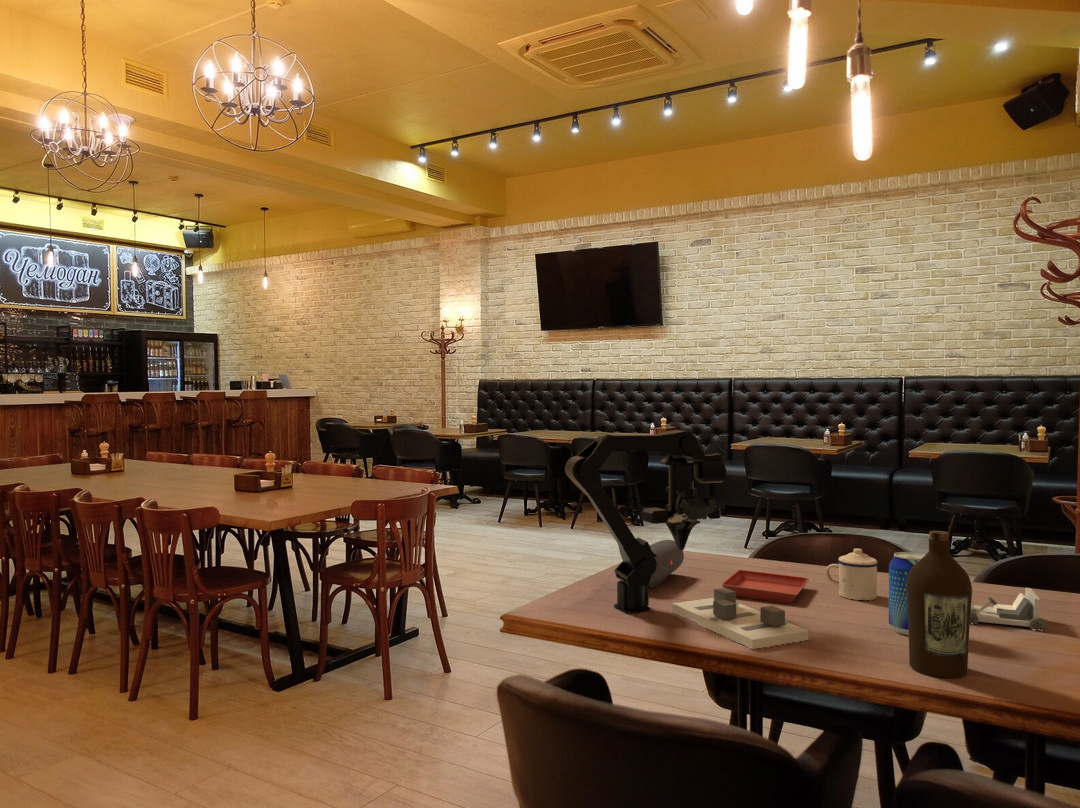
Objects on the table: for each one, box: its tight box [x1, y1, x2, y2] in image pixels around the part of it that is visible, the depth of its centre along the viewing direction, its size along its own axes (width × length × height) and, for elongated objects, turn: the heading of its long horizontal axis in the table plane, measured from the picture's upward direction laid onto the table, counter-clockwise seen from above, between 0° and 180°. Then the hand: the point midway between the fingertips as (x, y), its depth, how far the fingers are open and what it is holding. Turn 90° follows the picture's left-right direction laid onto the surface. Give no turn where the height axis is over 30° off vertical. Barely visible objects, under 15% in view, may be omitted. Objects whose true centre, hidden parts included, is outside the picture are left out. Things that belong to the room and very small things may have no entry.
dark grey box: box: [713, 599, 736, 620], centre depth 166 cm, size 3×4×3 cm
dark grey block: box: [759, 605, 786, 627], centre depth 161 cm, size 3×4×3 cm
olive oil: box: [906, 530, 973, 679], centre depth 141 cm, size 11×11×25 cm
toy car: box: [970, 587, 1047, 631], centre depth 171 cm, size 18×10×12 cm
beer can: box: [888, 551, 926, 636], centre depth 163 cm, size 8×8×16 cm
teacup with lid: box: [825, 548, 879, 602], centre depth 191 cm, size 12×9×12 cm
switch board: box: [671, 597, 809, 650], centre depth 167 cm, size 14×28×2 cm, turn 24°
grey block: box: [713, 587, 737, 604], centre depth 176 cm, size 3×4×3 cm
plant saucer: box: [721, 569, 810, 604], centre depth 195 cm, size 18×18×3 cm
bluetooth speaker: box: [647, 539, 685, 588], centre depth 204 cm, size 23×9×10 cm, turn 150°
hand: (681, 550), depth 183 cm, fingers closed
